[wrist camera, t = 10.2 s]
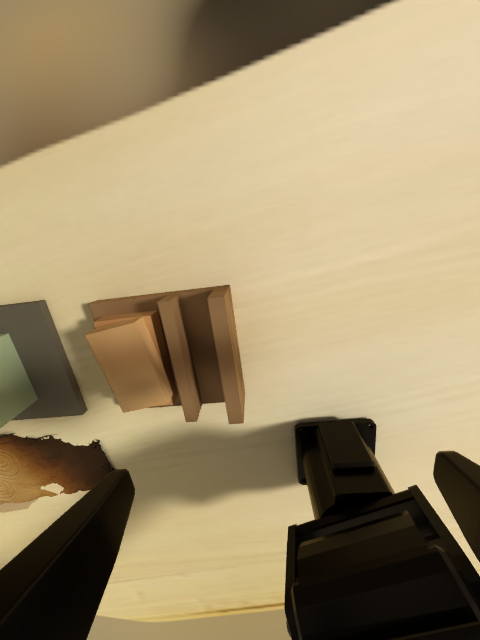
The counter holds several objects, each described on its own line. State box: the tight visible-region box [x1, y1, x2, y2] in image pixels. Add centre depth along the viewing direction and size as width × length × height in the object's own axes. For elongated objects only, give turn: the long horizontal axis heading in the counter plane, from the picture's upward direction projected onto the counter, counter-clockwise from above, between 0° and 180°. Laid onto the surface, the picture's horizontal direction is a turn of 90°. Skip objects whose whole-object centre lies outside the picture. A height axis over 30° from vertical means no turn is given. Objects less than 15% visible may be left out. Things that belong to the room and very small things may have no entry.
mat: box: [0, 300, 87, 420], centre depth 21 cm, size 10×8×1 cm
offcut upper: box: [85, 316, 174, 413], centre depth 17 cm, size 6×3×1 cm, turn 15°
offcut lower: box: [93, 310, 178, 407], centre depth 18 cm, size 7×4×1 cm, turn 7°
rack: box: [89, 285, 245, 424], centre depth 18 cm, size 9×10×4 cm
